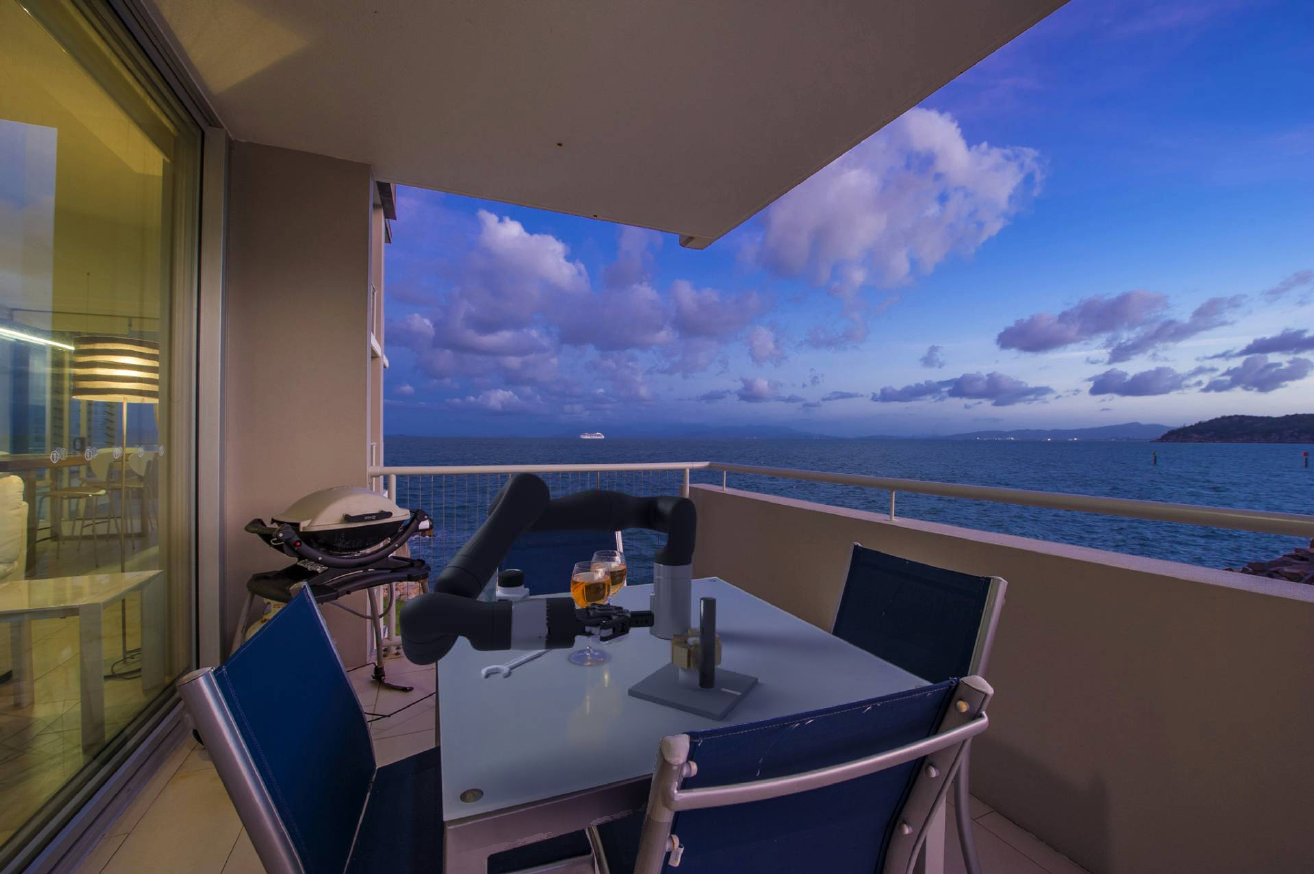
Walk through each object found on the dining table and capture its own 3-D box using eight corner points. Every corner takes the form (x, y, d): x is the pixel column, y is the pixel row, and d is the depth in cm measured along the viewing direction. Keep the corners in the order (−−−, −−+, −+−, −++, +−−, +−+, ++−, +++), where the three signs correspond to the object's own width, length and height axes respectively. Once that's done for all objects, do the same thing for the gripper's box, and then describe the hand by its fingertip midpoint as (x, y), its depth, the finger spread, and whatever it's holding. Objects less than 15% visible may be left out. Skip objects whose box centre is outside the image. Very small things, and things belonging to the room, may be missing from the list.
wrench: (495, 683, 105) (496, 673, 105) (475, 677, 108) (475, 667, 108) (574, 646, 127) (574, 637, 127) (556, 641, 130) (556, 633, 130)
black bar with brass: (668, 651, 108) (669, 575, 108) (715, 650, 108) (716, 575, 109) (679, 693, 89) (681, 601, 89) (736, 692, 90) (737, 601, 90)
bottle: (461, 635, 131) (463, 550, 131) (480, 627, 137) (482, 545, 137) (484, 639, 128) (486, 552, 129) (502, 630, 134) (504, 548, 135)
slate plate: (628, 694, 100) (629, 644, 100) (676, 663, 116) (676, 619, 116) (719, 720, 91) (719, 665, 91) (758, 682, 106) (758, 635, 107)
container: (521, 627, 138) (522, 574, 138) (490, 626, 138) (491, 573, 138) (528, 617, 145) (530, 567, 146) (499, 617, 146) (500, 567, 146)
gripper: (540, 634, 91) (643, 629, 95) (543, 664, 78) (663, 656, 82) (541, 588, 91) (644, 585, 95) (545, 610, 78) (664, 605, 82)
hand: (653, 618), depth 88 cm, fingers closed
